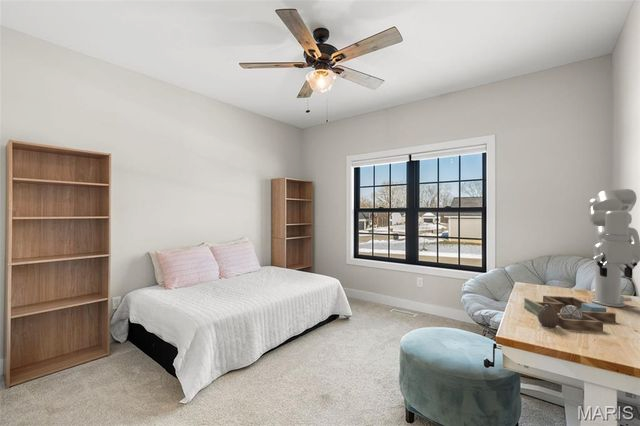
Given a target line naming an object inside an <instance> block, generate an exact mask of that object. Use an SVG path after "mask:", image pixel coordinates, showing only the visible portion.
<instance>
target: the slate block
mask: <svg viewBox="0 0 640 426" xmlns="http://www.w3.org/2000/svg"><path fill="white" fill-rule="evenodd" d="M581 311H592V312H607V307H605V306H604V305H601V304H597V303H589V302H587V303H581Z"/></svg>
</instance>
